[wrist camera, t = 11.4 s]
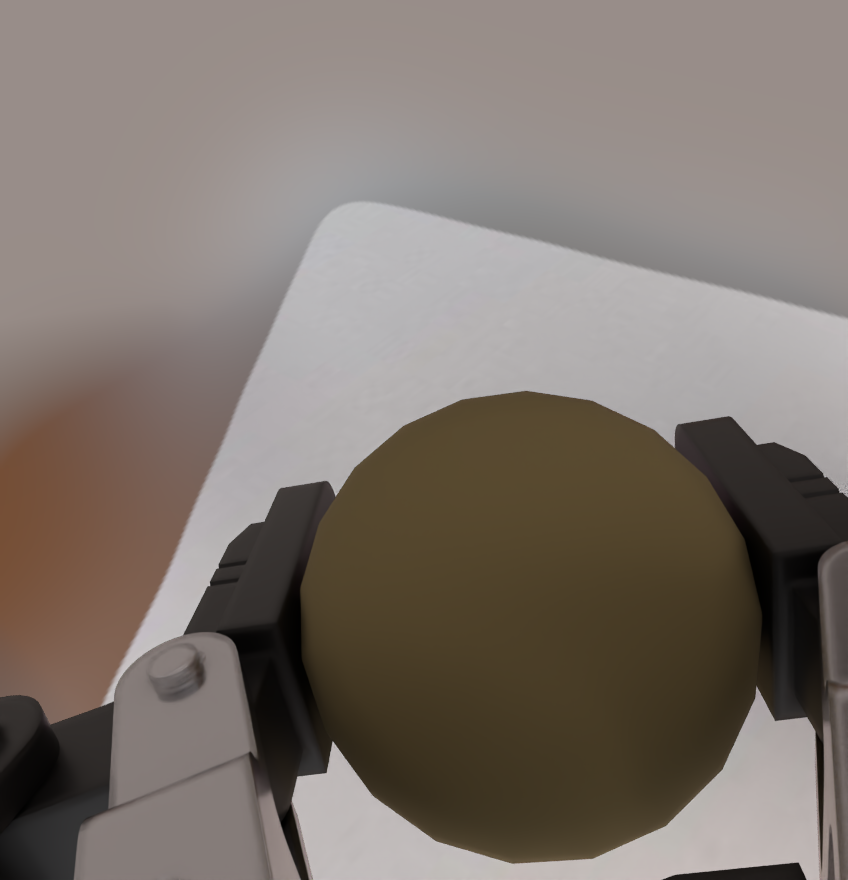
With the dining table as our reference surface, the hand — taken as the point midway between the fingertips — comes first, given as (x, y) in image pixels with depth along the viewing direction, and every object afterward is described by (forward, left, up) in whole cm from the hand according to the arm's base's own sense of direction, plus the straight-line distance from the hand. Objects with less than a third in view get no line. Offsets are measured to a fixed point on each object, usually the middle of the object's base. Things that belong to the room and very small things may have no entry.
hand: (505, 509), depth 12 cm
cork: (+1, +2, -7) cm, 8 cm away
